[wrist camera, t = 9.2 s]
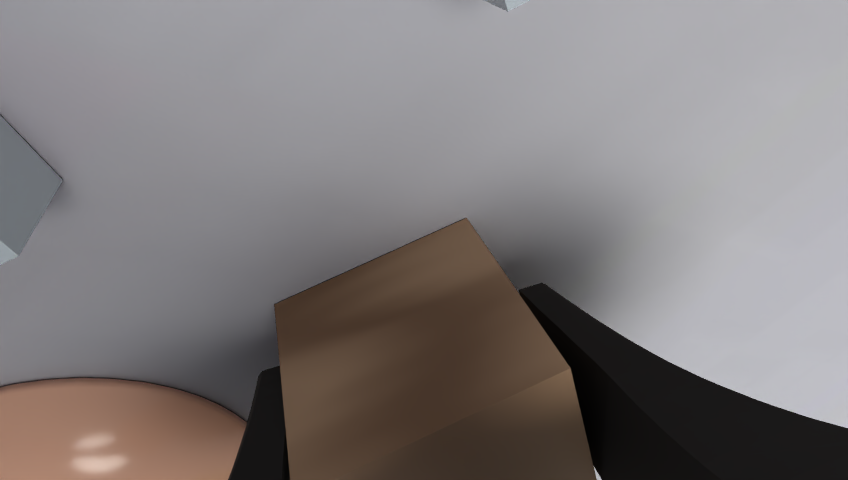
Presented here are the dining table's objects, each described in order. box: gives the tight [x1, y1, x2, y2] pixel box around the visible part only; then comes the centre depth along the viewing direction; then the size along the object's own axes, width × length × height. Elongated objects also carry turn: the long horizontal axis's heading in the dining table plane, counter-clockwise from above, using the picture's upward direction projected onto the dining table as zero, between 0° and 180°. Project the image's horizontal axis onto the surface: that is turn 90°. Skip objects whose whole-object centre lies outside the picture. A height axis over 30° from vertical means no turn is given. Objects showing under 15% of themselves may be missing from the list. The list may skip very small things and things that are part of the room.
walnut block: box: [274, 218, 597, 480], centre depth 12 cm, size 5×5×5 cm
